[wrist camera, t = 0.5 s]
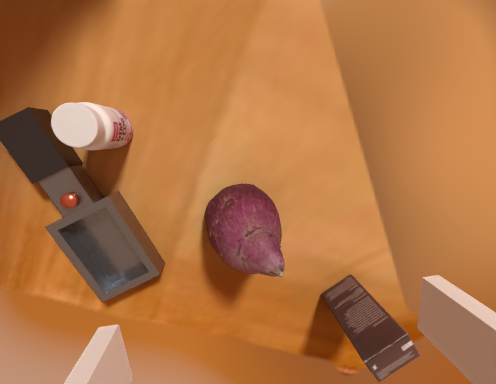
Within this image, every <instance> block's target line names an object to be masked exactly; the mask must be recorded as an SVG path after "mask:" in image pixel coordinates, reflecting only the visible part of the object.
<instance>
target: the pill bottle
mask: <svg viewBox="0 0 496 384" xmlns="http://www.w3.org/2000/svg"><path fill="white" fill-rule="evenodd" d="M51 126H52V129H53V132H54V134H55V135H56V137H57V138H58V139H59V140H60V141H61V142H63V143H64V144H66V145H68V146H71V147H76V148H82V149H85V150H103V149H112V148H119V147H122V146H124V145H126V144H127V143H128V142H129V141H130V139H131V138H132V134H133V127H132V123H131V121H130V119H129V118H128V117H127V116H126V115H125V114H124V113H123V112H121V111H120V110H117V109H114V108H110V107H106V106H102V105H98V104H94V103H89V102H80V103H65V104H62V105H60V106H59V107H57V108H56V109H55V111H54V112H53V114H52V118H51Z"/></svg>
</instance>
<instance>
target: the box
mask: <svg viewBox="0 0 496 384" xmlns="http://www.w3.org/2000/svg"><path fill="white" fill-rule="evenodd" d="M321 295H322V297H323V298H324V300H325V301H326V303H327V305H328V306H329V308H330V309H331V311H332V313H333V314H334V316H335V317H336V319H337V321H338V322H339V324H340V325H341V327H342V328H343V330H344V331H345V333H346V334H347V336H348V338H349V339H350V341H351V342H352V344H353V346H354V347H355V349H356V350H357V352H358V354H359V355H360V357H361V359H362V360H363V362H364V363H365V364H366V366H367V367H368V368H369V370H370V371H371V372H372V373H373V375H374V376H375V377H376V379H377V380H378V381H379V382H380V381H382V380H383V379H385V378H386V377H388V376H389V375H391V374H392V373H394V372H395V371H397V370H398V369H400V368H401V367H403V366H404V365H406V364H407V363H409V362H410V361H412V360H414V359H415V358H417V357H419V356H420V354H419V353H418V351H417V350H416V348H415V346H414V344H413V342H412V340H411V338H410V337H409V335H408V333H407V332H406V331H405V330H404V329H403V328H402V327H401V326H400V325H399V324H398V323H397V322H396V321H395V320H394V319H393V318H392V317H391V316H390V315H389V314H388V313H387V312H386V311H385V310H384V308H383V307H382V306H381V305H380V304H379V303H378V302H377V301H376V300H375V299H374V298H373V297H372V296H371V295H370V294H369V293H368V292H367V291H366V290H365V289H364V287H363V286H362V285H361V284H360V283H359V282H358V281H357V280H356V279H355V278H354V277H353V276H352V275H350V276H348V277H347V278H345V279H344V280H342V281H341V282H339V283H338V284H336V285H335V286H333V287H332V288H330V289H329V290H327V291H326V292H324V293H323V294H321Z"/></svg>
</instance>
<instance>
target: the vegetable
mask: <svg viewBox="0 0 496 384" xmlns="http://www.w3.org/2000/svg"><path fill="white" fill-rule="evenodd" d="M205 220H206V226H207V231H208V235H209V239H210V241H211V243H212V246H213V248H214V249H215V251H216V252H217V253H218V254H219V256H220V257H221V258H222V260H223V261H225V262H226V264H227V265H228V266H230V267H231V268H233V269H235V270H238V271H241V272H244V273H251V274H258V273H259V274H263V275H268V276H279V277H282V276H283V271H284V259H283V255H282V252H281V249H280V247H281V246H280V243H281V236H282V234H281V224H280V219H279V214H278V211H277V209H276V207H275V205H274V203H273V201H272V200H271V199H270V198H269V197H268V195H267V194H265V193H264V192H263V191H262V190H260V189H259V188H257V187H256V186H254V185H251V184H238V185H233V186H229V187H226V188H224V189H223V190H221V191H220V192H219V193H218V194H217V195H216V196H215V197H214V198H213V199H212V200H211V201H210V202H209V203H208V205H207V207H206V211H205Z"/></svg>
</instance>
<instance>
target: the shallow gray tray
mask: <svg viewBox="0 0 496 384" xmlns="http://www.w3.org/2000/svg"><path fill="white" fill-rule="evenodd" d="M51 118H52V116H51V115H50V113H49V112H48V110H43V109H36V108H29V107H28V108H26V109H24V110H22V111H20V112H18V113H16V114H14V115H12V116H10V117H8V118H6V119H4V120H2V121H0V141H1V142H2V143H3V145H4V146H5V147H6V149H7V150H8V151H9V153H10V154H11V155H12V157H13V158H14V159H15V161H16V162H17V164H18V165H19V166H20V168H21V169H22V170H23V172H24V173H25V174H26V176H27V177H28V178H29V180H30V181H31V182H32V183H36V182H39V184H40V185H41V187H42V188H43V189H44V191H45V192H46V193H47V195H48V196H49V197H50V199H51V200H52V202H53V203H54V204H55V206H56V207H57V208H58V210H59V211H60V212H61V214H62V215H63V217H64V218H61V219H60V220H58V221H56V222H54V223H52V224H50V225H48V226H46V227H45V228H46V229H47V231H48V232H49V233H50V235H51V236H52V237H53V238H54V240H55V241H56V242H57V244H58V245H59V246H60V248H61V249H62V250H63V252H64V253H65V254H66V255H67V257H68V258H69V259H70V261H71V262H72V263H73V265H74V266H75V267H76V269H77V270H78V271H79V272H80V274H81V275H82V276H83V278H84V279H85V280H86V282H87V283H88V284H89V285H90V287H91V288H92V289H93V291H94V292H95V293H96V295H97V296H98V297H99V299H100V300H101V301H102V302H105V301H107V300H109V299H111V298H113V297H115V296H117V295H119V294H121V293H123V292H125V291H127V290H129V289H132V288H134V287H136V286H138V285H140V284H142V283H144V282H146V281H148V280H150V279H152V278H154V277H156V276H158V275H160V274H161V271H162V269H163V267H164V265H165V262H164V260H163V259H162V257H161V256H160V254H159V253H158V251H157V250H156V248H155V246H154V245H153V243H152V242H151V240H150V239H149V237H148V236H147V234H146V232H145V231H144V229H143V228H142V226H141V225H140V223H139V222H138V220H137V218H136V217H135V215H134V214H133V212H132V211H131V209H130V208H129V206H128V204H127V203H126V201H125V200H124V198H123V197H122V195H121V194H120V192H119V191H117V192H115V193H113V194H110V195H108V196H106V197H104V198H103V197H102V195H101V194H100V192H99V191H98V189H97V188H96V186H95V185H94V183H93V182H92V180H91V179H90V177H89V176H88V174H87V173H86V171H85V170H84V168H83V167H82V165H81V163H82V161H81V160H80V158H79V157H78V155H77V154H76V152H75V151H74V149H73V148H72V147H71V146H68V145H66V144H64V143H63V142H61V141H60V140H59V139H58V138H57V137H56V135H55V134H54V132H53V129H52V126H51Z"/></svg>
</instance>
